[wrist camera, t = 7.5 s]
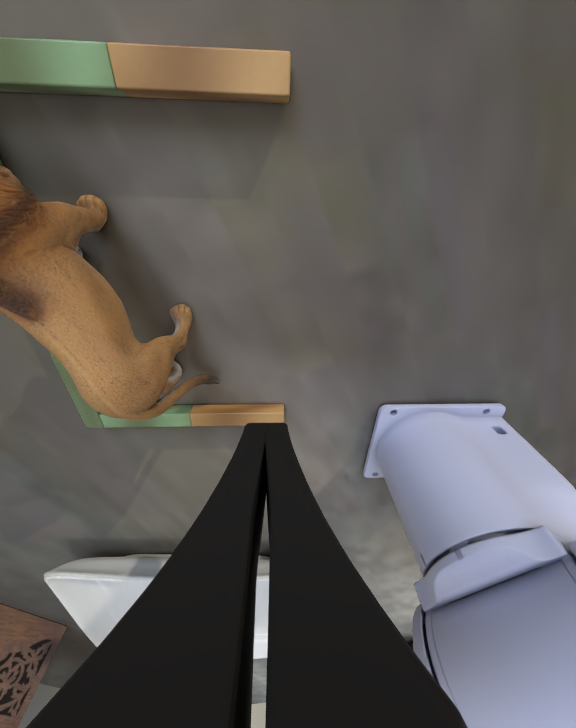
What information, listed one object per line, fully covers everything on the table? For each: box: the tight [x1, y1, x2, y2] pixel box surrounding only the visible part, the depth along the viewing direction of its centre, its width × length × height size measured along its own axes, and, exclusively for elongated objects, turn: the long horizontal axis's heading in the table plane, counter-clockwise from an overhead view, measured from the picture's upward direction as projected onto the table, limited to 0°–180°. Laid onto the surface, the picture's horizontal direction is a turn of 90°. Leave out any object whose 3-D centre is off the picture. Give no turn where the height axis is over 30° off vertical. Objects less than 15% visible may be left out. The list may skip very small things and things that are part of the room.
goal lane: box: [0, 37, 291, 428], centre depth 15 cm, size 14×18×1 cm
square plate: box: [44, 554, 270, 659], centre depth 34 cm, size 27×27×4 cm
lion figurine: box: [0, 166, 221, 421], centre depth 11 cm, size 15×5×9 cm, turn 36°
